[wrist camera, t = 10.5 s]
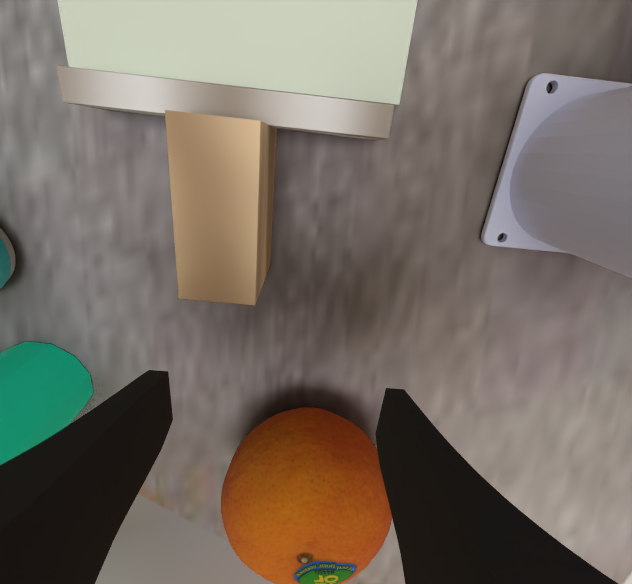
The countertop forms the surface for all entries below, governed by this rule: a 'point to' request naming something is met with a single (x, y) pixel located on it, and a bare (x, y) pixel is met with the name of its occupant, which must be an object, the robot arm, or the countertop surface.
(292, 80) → the board
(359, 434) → the fruit
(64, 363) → the candle
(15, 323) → the countertop surface
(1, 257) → the beverage can
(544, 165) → the robot arm
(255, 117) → the scraper
